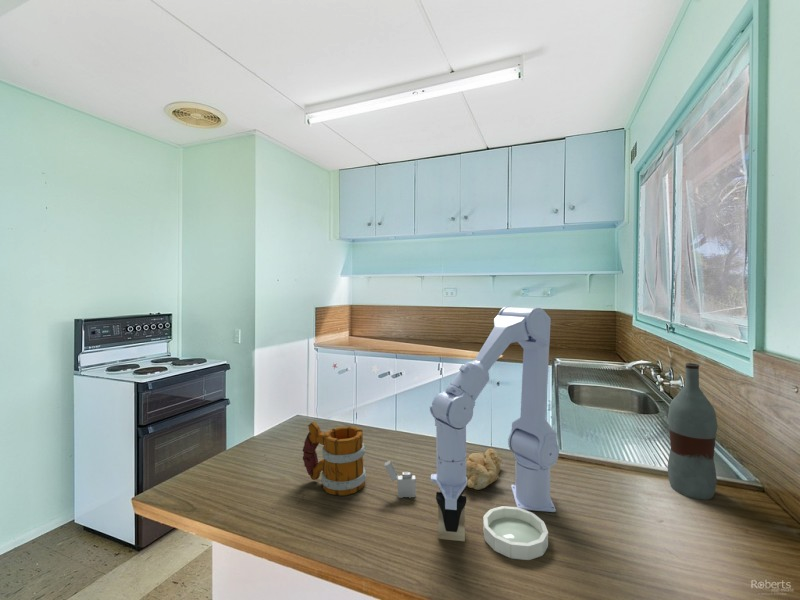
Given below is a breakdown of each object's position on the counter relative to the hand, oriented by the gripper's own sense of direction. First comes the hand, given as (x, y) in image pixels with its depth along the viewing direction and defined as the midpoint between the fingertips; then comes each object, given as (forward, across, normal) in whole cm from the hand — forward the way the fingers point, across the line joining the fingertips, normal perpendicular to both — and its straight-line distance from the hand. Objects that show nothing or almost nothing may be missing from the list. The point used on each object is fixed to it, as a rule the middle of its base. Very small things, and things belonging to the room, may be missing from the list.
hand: (451, 524), depth 70 cm
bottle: (+2, -24, +56) cm, 61 cm away
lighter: (+2, -12, -12) cm, 17 cm away
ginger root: (+2, -22, +6) cm, 23 cm away
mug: (+2, -15, -29) cm, 33 cm away
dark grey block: (+2, 0, 0) cm, 2 cm away
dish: (+2, -1, +12) cm, 12 cm away
